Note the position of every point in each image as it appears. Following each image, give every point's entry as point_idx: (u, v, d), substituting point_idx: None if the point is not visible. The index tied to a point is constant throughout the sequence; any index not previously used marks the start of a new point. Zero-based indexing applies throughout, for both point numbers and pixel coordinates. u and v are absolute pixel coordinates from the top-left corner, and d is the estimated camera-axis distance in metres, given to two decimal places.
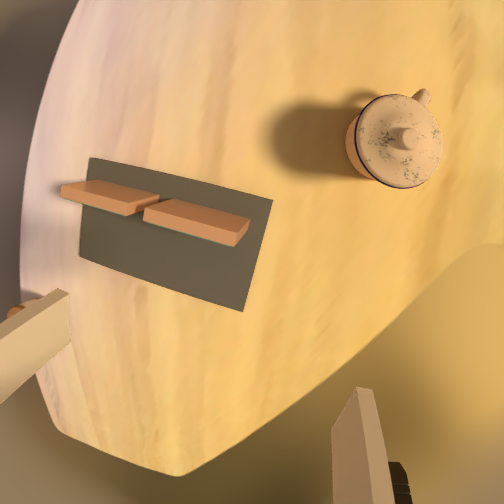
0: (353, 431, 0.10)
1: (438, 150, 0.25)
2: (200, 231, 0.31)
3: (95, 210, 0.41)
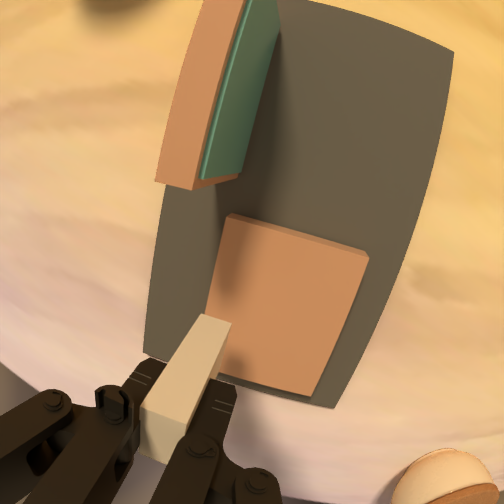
0: None
1: None
2: (222, 12, 0.09)
3: None
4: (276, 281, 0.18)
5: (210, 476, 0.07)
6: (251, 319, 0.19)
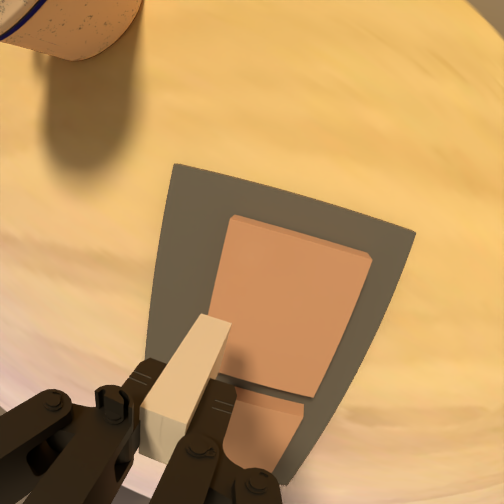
0: None
1: None
2: None
3: None
4: (233, 425, 0.21)
5: (210, 476, 0.07)
6: None
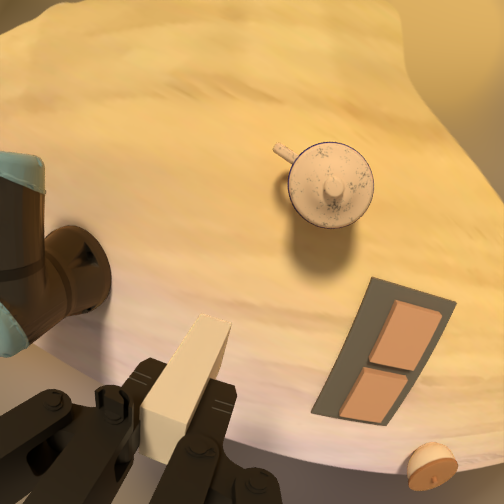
0: None
1: (338, 149, 0.30)
2: None
3: None
4: (376, 389, 0.45)
5: (210, 476, 0.07)
6: (365, 400, 0.46)
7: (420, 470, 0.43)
